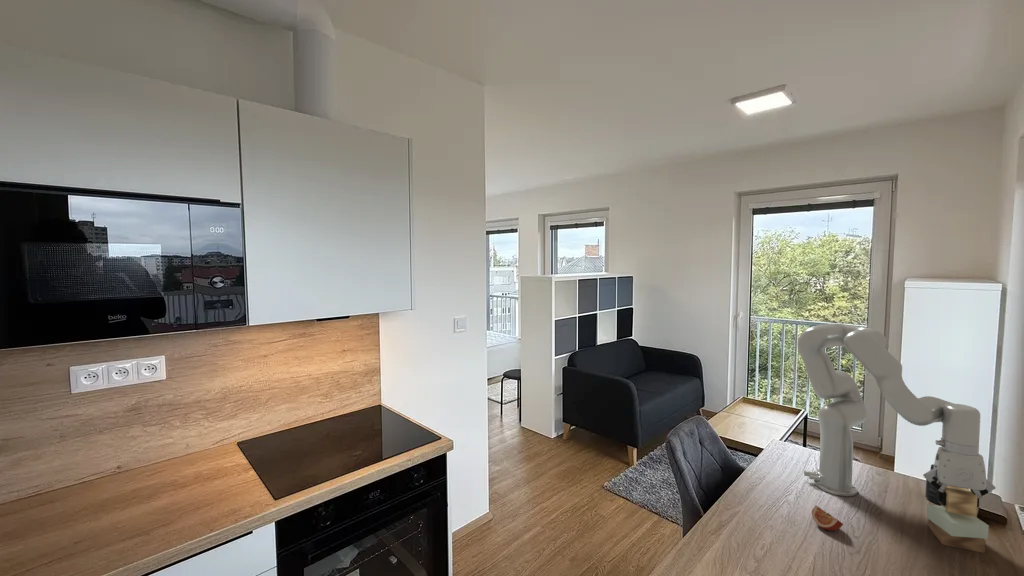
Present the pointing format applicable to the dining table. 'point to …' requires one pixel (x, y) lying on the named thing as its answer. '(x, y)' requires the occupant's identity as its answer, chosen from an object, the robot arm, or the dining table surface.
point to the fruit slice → (825, 519)
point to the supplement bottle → (931, 490)
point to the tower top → (957, 523)
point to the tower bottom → (957, 539)
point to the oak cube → (960, 501)
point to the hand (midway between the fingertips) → (957, 505)
